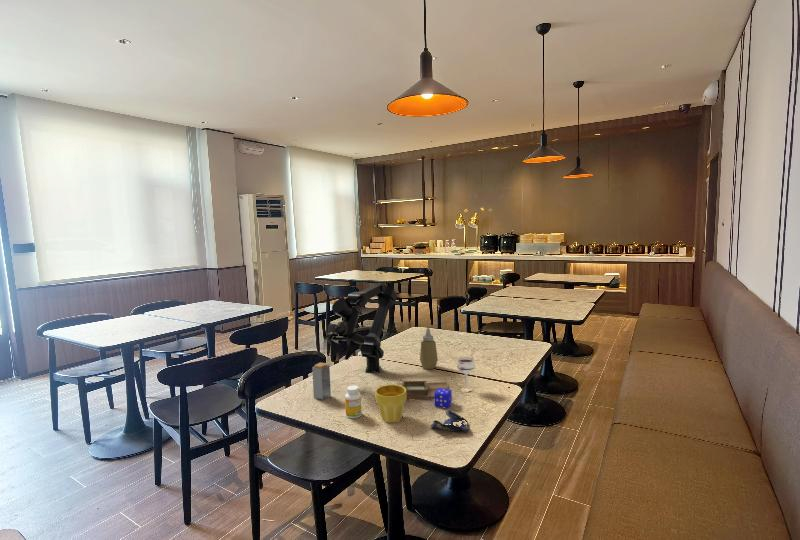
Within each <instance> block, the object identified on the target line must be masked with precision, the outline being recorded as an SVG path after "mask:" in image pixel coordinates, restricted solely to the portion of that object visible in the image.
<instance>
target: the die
mask: <svg viewBox="0 0 800 540" xmlns="http://www.w3.org/2000/svg"><path fill="white" fill-rule="evenodd" d="M452 397H453V396H452V389H449V388H448V389H440V388H438V389H437V391H436V392H435V393H434V399H433V400H434V407H435V406H436V407H435V408H441V407H445V408H444V409H449V408H450V407H451V405H450V404H452V403H451V402H453V401H452V400H453V399H452Z"/></svg>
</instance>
